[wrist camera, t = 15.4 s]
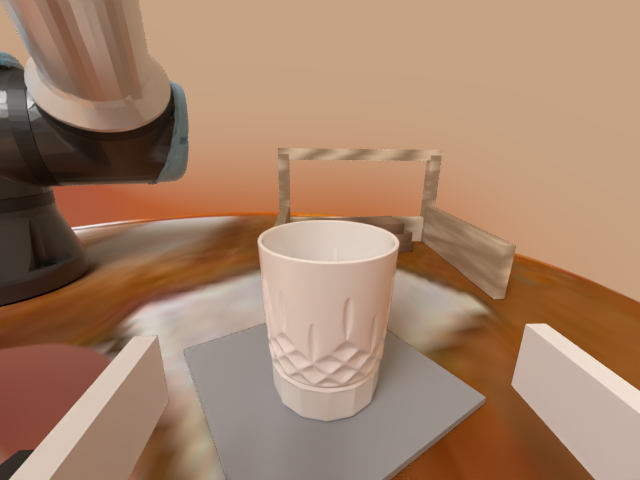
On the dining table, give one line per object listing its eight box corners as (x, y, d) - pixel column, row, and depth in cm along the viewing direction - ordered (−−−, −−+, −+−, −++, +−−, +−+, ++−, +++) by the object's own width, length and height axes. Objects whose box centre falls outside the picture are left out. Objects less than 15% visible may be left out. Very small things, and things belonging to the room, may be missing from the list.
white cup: (273, 342, 24) (268, 219, 21) (373, 341, 24) (382, 220, 21) (255, 433, 16) (243, 262, 13) (399, 431, 17) (420, 262, 13)
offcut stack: (323, 261, 43) (324, 228, 41) (314, 248, 48) (314, 218, 47) (412, 254, 46) (416, 223, 45) (394, 242, 51) (397, 214, 50)
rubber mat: (184, 355, 23) (183, 349, 23) (341, 302, 31) (341, 298, 31) (262, 583, 11) (261, 574, 11) (484, 403, 19) (486, 397, 19)
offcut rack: (267, 303, 31) (260, 151, 26) (281, 239, 51) (278, 148, 47) (506, 298, 32) (538, 154, 28) (426, 238, 53) (437, 149, 48)
